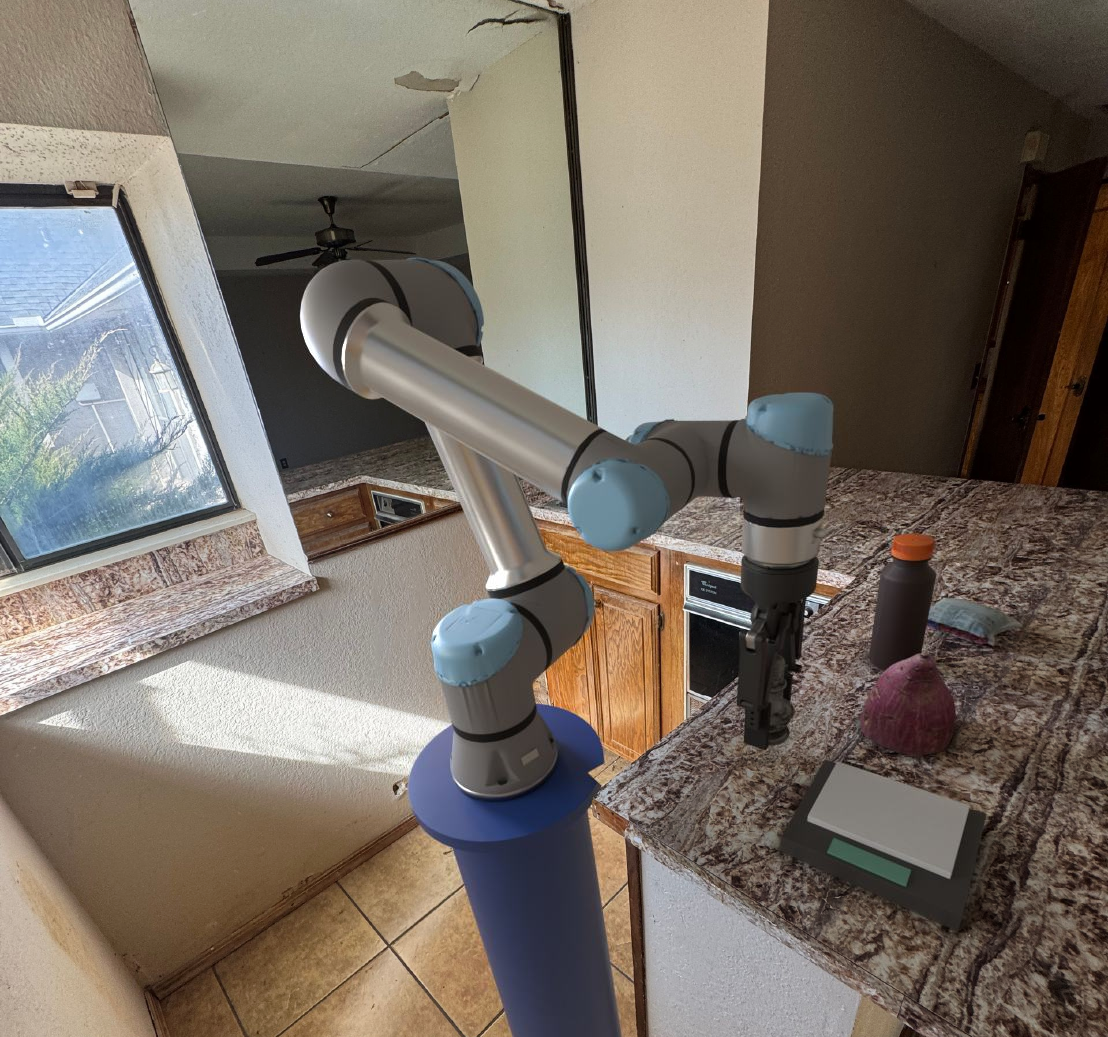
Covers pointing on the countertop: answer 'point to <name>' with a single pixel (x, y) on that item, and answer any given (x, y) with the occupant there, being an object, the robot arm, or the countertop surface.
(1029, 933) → the countertop surface
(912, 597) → the bottle
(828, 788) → the scale
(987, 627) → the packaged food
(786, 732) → the chess piece
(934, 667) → the vegetable
